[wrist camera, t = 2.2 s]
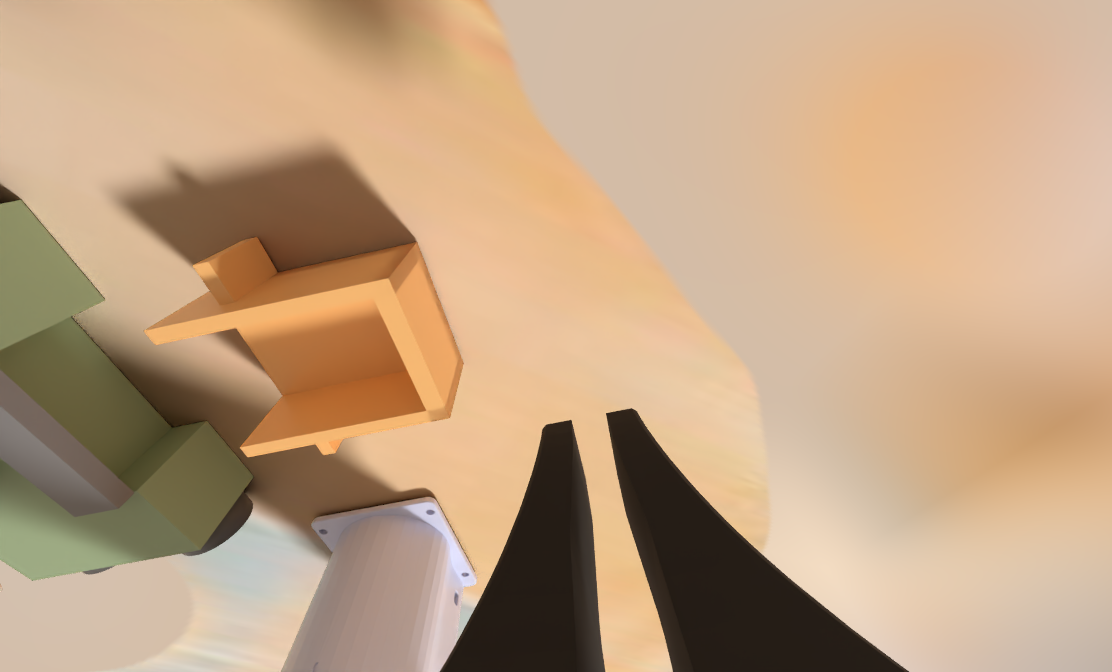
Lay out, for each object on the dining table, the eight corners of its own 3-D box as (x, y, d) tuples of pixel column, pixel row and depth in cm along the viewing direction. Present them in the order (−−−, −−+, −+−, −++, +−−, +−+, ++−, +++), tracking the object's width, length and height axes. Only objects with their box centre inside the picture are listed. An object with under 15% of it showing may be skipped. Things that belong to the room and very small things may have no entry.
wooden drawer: (473, 388, 22) (461, 445, 18) (310, 420, 22) (268, 482, 18) (402, 204, 17) (368, 232, 13) (196, 250, 17) (109, 289, 14)
